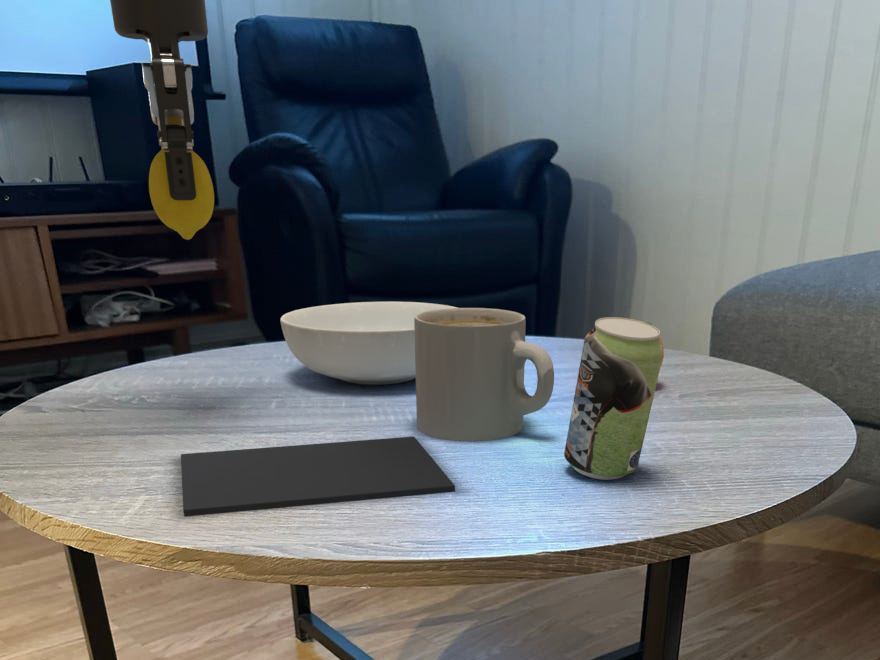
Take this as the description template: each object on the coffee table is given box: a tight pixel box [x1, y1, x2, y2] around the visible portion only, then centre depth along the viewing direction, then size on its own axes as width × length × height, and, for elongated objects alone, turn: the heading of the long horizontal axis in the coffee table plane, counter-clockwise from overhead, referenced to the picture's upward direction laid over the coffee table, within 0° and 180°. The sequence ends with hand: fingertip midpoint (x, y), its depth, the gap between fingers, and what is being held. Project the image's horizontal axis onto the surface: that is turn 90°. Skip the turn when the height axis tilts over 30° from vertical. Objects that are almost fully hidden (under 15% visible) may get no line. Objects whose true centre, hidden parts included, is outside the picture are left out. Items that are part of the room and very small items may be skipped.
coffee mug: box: [414, 307, 555, 442], centre depth 85 cm, size 13×10×10 cm
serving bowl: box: [279, 301, 458, 386], centre depth 105 cm, size 21×21×7 cm
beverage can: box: [563, 316, 664, 481], centre depth 73 cm, size 6×7×12 cm
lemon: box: [148, 149, 215, 241], centre depth 84 cm, size 6×6×8 cm
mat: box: [180, 436, 456, 517], centre depth 75 cm, size 20×14×1 cm
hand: (182, 197), depth 84 cm, fingers closed on lemon, 5 cm apart
